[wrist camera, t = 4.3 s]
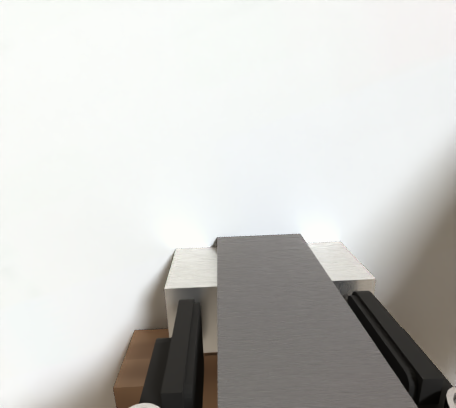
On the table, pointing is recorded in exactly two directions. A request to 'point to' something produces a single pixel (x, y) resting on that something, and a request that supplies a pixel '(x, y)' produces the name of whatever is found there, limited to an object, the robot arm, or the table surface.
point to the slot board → (138, 366)
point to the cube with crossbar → (284, 323)
